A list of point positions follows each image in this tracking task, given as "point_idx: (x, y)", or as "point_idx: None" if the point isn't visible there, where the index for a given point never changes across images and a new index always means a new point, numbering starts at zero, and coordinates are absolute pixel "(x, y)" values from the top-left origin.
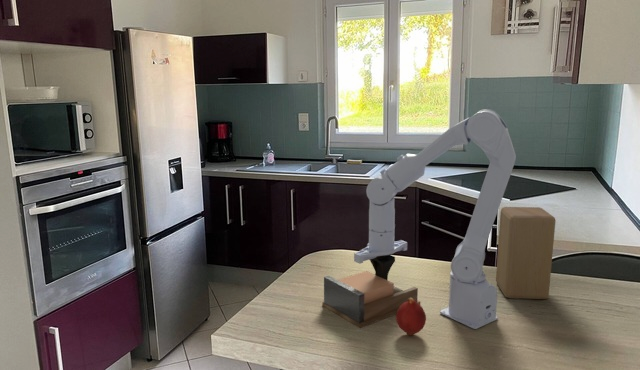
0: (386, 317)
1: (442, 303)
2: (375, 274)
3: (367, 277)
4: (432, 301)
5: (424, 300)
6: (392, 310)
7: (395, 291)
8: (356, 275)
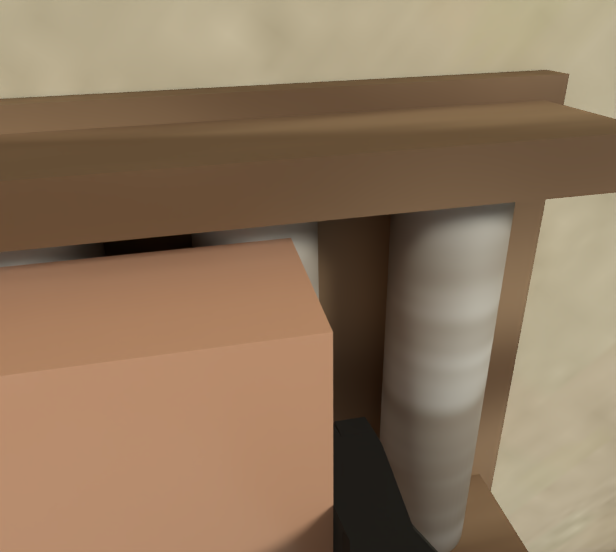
0: None
1: (582, 508)
2: (537, 163)
3: (161, 539)
4: (569, 473)
5: (549, 447)
6: None
7: (404, 484)
8: (19, 422)
